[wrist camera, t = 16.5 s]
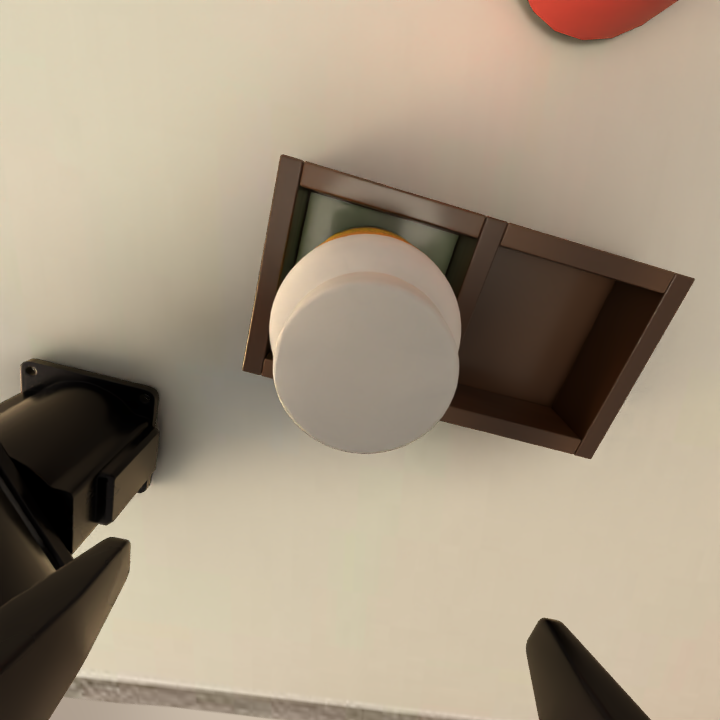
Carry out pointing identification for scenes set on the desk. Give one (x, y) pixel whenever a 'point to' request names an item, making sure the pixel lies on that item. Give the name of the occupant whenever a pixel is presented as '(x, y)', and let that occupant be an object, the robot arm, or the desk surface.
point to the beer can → (597, 15)
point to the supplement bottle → (365, 342)
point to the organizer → (492, 305)
